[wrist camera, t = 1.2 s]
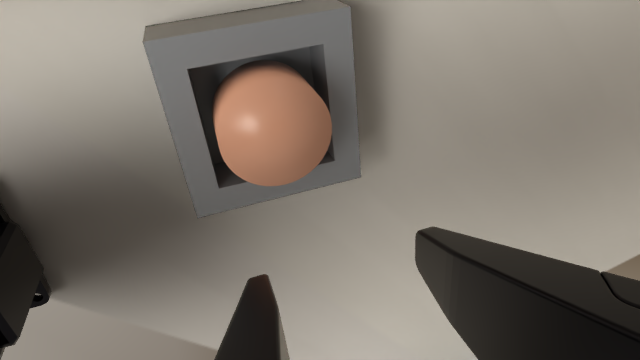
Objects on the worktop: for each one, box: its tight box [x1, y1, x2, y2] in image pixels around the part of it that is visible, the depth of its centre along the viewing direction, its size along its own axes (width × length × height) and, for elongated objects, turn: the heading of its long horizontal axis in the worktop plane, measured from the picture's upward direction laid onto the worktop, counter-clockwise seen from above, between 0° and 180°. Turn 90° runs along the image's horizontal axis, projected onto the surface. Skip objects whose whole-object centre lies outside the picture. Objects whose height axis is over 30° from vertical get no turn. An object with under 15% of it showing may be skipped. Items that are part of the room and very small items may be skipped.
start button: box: [212, 60, 332, 186], centre depth 16 cm, size 4×4×2 cm
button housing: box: [143, 0, 361, 218], centre depth 18 cm, size 7×7×2 cm
